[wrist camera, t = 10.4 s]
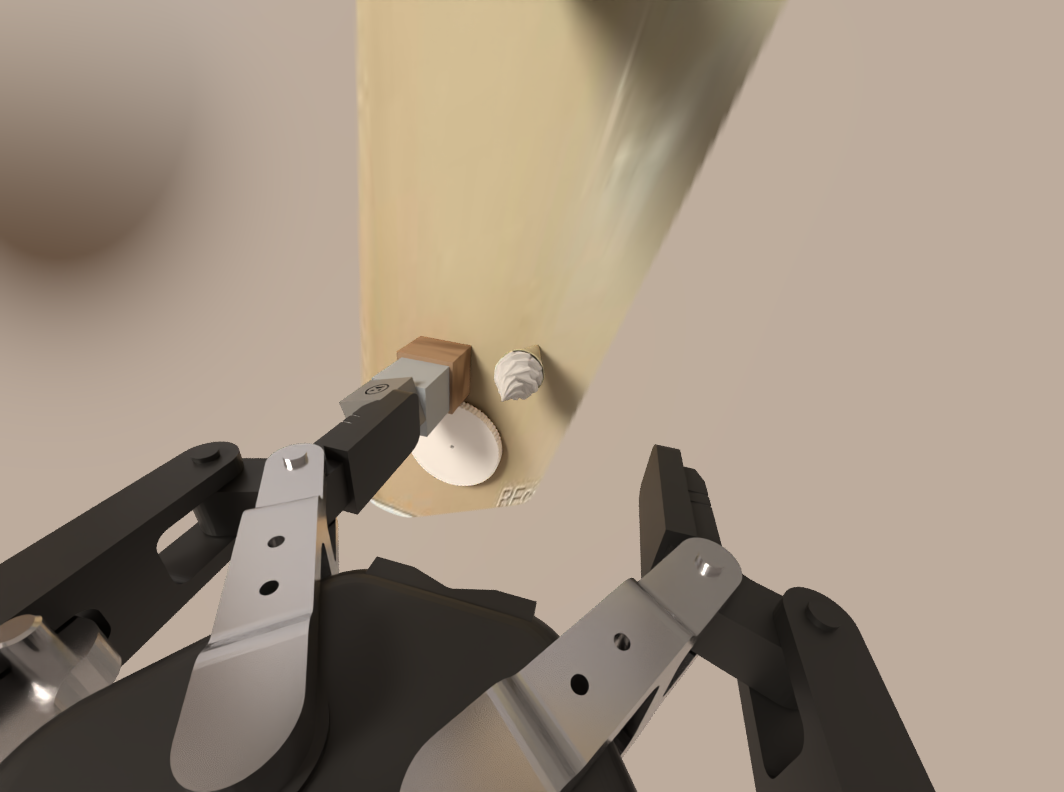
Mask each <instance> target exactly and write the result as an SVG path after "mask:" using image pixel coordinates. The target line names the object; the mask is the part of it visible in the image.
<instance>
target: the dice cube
mask: <svg viewBox="0 0 1064 792" xmlns="http://www.w3.org/2000/svg"><path fill="white" fill-rule="evenodd" d="M394 389H397V390H402V391H406V392H411V393H415V394H417V396H418V393H417V390H416V387H415V384H414V381H413V378H412V377H404V378H391V379H379V380H370V381H369V382H367V383H366V384H364V385H363V386H362V387H360V388H359V389H357V390H356V391H355V392H353V393H352V394H350V395H349V396H347V397H346V398H345V399H343V400H342V401H340V402H339V403H340V405H341V408H342V410H343V412H344V415H345V417H346V418H347V417H349V416H350V415H351V416H352V413H354V412H355V411H356V410H358V409H359V408H360V407H361V406H363V405H365V404H368V403H370V402H373V401H375V400H381V399H382V398H383V397H385V396H386V395H387V394H388V393H390V392H391V391H392V390H394ZM418 399H419V396H418ZM419 416H420V426H421V425H422V424H423V423H424V422H425V421H426V417H425V414H424V411H423V408H422V405H421V402H420V399H419Z"/></svg>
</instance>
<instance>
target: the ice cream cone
mask: <svg viewBox="0 0 1064 792" xmlns="http://www.w3.org/2000/svg"><path fill="white" fill-rule="evenodd" d="M544 375H545V374H544V368H543V365H542V361H541V355H540V349H539V346H538V345H534V346H531V347H527V348H524V349H520V350H512V351H509V352H508V353H506V354H505V355H504V356H503V357H502V358H501V359H500V361H499V362H498V363H497V365H496V366H495V374H494V380H495V384H496V386H497V388H498V389H499V390H498V392H499V393H500V395H501V402H503V401H506V400H509V399H513V400H518V398H521V399H524V400H525V399H526V398H528V397H529V396H530V395H531V394H532V393H535V392H537V391H538V388H539V387H540V386H541V385H542V383H543V380H544Z"/></svg>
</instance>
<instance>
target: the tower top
mask: <svg viewBox="0 0 1064 792" xmlns="http://www.w3.org/2000/svg"><path fill="white" fill-rule="evenodd" d="M404 377H412V378H413V381H414V384H415V387H416V390H417V393H418V396H419V399H420V402H421V405H422V408H423V411H424V414H425V417H426V421H425V422H424V423H423V424H422V425H421V426H420V436H425V437H428V435H429V434H430V433H431V432H432V431H433V430H434V428H435V427H436V426H437V425H438V424H439V422H440V421H441V420H442V419H443V418H444V417H445V415H446V414H447V413H448V412H449V366H445V365H439V364H434V363H429V362H424V361H419V360H413V359H408V358H403V357H401V358H400V359H398V360H397V361H395V362H394V363H393V364H391V365H390V366H388V367H387V368H385V369H384V370H382V371H381V372H380V373H378V374H377V375H375V376H374V377H372V380H379V379H391V378H404Z"/></svg>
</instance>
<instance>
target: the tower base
mask: <svg viewBox="0 0 1064 792" xmlns="http://www.w3.org/2000/svg"><path fill="white" fill-rule="evenodd" d="M401 357H403V358H408V359H413V360H419V361H424V362H429V363H434V364H439V365H445V366H449V412H448V414H453V413H454V412H455V410H456V409H457V408H458V407H459V406H460V404H461V403H462V402H463V401H464V400H465V398H466V397H467V396H468V395H469V394H470V367H471V345H465V344H460V343H455V342H450V341H444V340H439V339H434V338H428V337H423V336H420V337H418V338H417V339H415V340H414V341H412V342H411V343H409V344H408V345H406V346H405V347H403V348H402V349H400V350H398V351H397V360H398V359H400V358H401Z"/></svg>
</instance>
